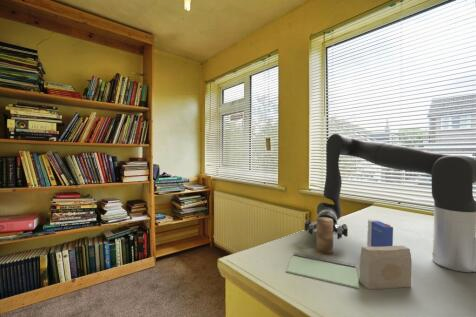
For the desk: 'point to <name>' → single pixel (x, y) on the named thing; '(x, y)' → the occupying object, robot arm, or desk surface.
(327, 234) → the spiral cardboard tube
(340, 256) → the desk surface
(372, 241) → the walkman
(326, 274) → the mat
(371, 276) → the fossil
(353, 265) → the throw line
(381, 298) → the desk surface
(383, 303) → the desk surface
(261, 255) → the desk surface
